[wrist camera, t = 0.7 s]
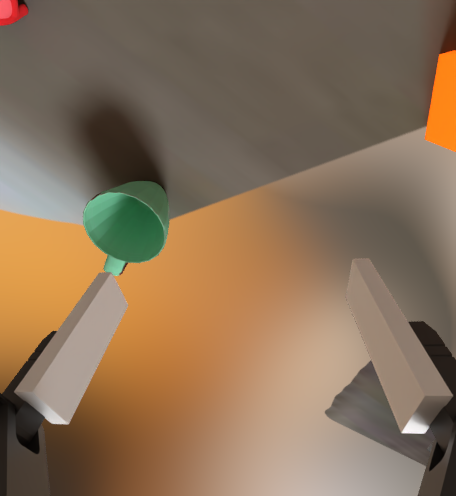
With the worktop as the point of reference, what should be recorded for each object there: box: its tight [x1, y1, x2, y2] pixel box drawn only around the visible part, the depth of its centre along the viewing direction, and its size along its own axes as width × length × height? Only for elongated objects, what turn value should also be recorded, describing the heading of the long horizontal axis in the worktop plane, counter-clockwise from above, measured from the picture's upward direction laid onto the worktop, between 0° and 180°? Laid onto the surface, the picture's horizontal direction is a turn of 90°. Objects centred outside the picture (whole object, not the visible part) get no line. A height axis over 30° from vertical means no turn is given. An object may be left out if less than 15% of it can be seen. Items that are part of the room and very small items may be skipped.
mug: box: [83, 181, 169, 276], centre depth 36 cm, size 15×10×10 cm
